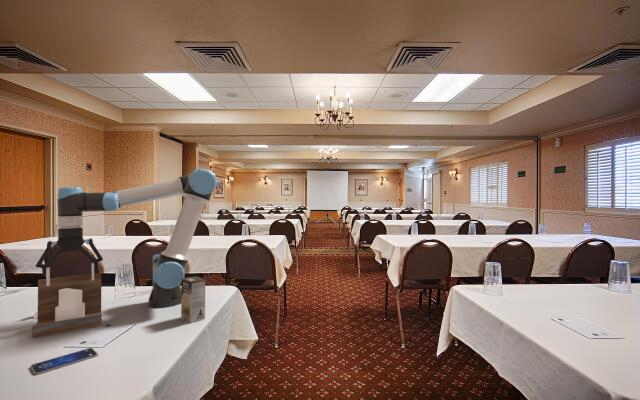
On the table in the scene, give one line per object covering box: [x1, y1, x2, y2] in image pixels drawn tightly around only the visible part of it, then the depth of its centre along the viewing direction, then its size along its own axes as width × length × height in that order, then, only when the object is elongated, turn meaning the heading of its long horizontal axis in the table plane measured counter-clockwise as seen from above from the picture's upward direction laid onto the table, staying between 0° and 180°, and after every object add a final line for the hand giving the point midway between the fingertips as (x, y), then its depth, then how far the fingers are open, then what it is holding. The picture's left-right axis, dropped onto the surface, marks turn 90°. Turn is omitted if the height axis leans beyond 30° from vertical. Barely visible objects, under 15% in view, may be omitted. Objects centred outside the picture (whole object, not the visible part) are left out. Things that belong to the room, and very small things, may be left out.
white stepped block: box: [55, 288, 85, 322], centre depth 122 cm, size 9×9×12 cm
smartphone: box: [29, 347, 99, 376], centre depth 94 cm, size 7×1×15 cm
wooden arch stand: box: [31, 272, 103, 339], centre depth 122 cm, size 14×20×18 cm
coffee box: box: [180, 275, 206, 324], centre depth 129 cm, size 9×6×16 cm
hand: (71, 282), depth 122 cm, fingers open, 13 cm apart
